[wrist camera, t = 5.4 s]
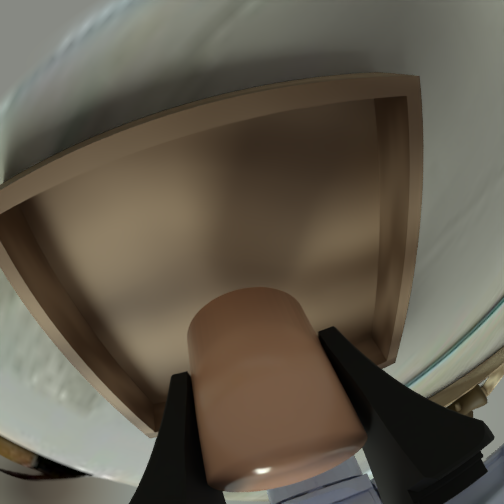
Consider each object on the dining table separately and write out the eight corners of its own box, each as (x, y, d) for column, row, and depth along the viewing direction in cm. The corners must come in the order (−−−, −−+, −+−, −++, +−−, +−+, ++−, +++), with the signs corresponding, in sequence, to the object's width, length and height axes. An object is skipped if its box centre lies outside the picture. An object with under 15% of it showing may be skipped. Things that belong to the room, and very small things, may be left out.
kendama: (435, 421, 46) (420, 410, 35) (472, 391, 44) (470, 367, 33) (449, 442, 41) (439, 440, 30) (486, 411, 39) (492, 395, 28)
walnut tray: (375, 334, 21) (394, 362, 19) (148, 404, 20) (149, 438, 18) (377, 72, 11) (419, 76, 9) (2, 183, 10) (-30, 209, 8)
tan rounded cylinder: (307, 352, 14) (357, 460, 9) (206, 381, 14) (229, 498, 9) (301, 271, 11) (380, 408, 6) (169, 307, 11) (181, 466, 6)
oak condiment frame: (483, 386, 46) (489, 394, 44) (380, 450, 44) (385, 460, 42) (514, 337, 36) (522, 346, 34) (397, 415, 34) (405, 429, 32)
